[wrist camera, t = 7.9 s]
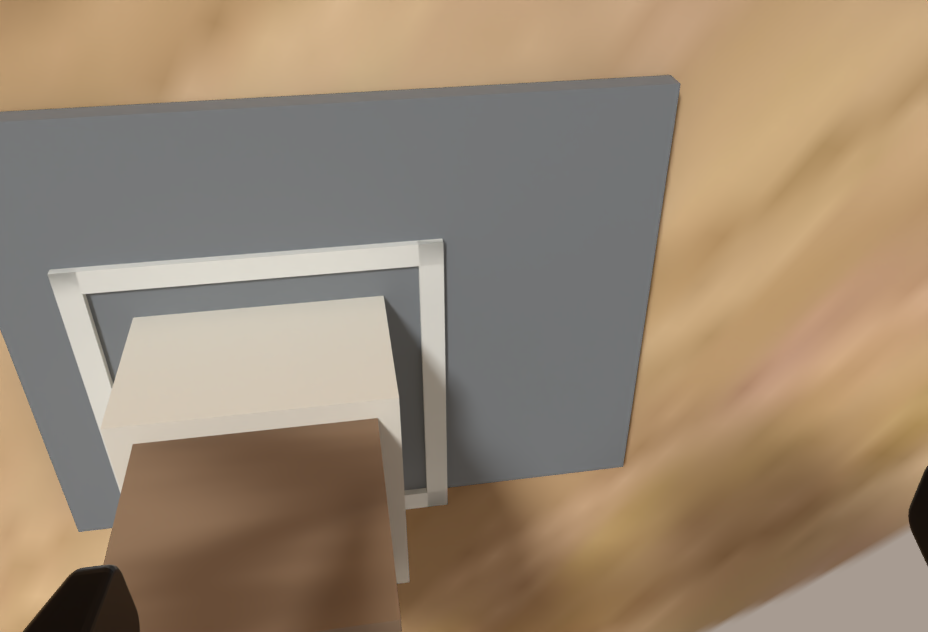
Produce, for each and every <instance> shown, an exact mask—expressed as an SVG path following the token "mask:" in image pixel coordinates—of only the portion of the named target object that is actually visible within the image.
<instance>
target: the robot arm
mask: <svg viewBox="0 0 928 632" xmlns="http://www.w3.org/2000/svg"><path fill="white" fill-rule="evenodd" d="M908 517H909V524H910V528H911V531H912V533H913V535H914V537H915V540H916V542H917V544H918V546H919V548H920V550H921V553H922V555H923V557H924V559H925V561H926V563H927V565H928V466H927V467H926V469H925V471H924V473H923V476H922V478H921V481H920V483H919V485H918V488H917V490H916V493H915V495H914V498H913V500H912V502H911V505H910V508H909V514H908ZM23 632H140V623H139V616H138V612H137V609H136V606H135V604H134V601H133V599H132V596H131V594H130V591H129V589H128V587H127V584H126V582H125V579H124V577H123V574H122V572H121V571H120V569H119V568H118V567H117V566H115V565H110V564H109V565H101V566H93V567H85V568H80V569H77V570H76V571H74V572H73V573H71V574H70V575H69V576H68V577H67V579H66V580H65V581H64V582H63V583H62V585H61V586H60V587H59V588H58V589H57V591H56V592H55V593H54V594H53V596H52V597H51V598H50V599H49V600H48V602H47V603H46V604H45V605H44V606H43V608H42V609H41V610H40V611H39V612H38V614H37V615H36V616H35V617H34V619H33V620H32V621H31V622H30V623H29V625H28V626H27V627H26V628H25V629H24V631H23Z"/></svg>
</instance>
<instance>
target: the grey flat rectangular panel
mask: <svg viewBox="0 0 928 632" xmlns="http://www.w3.org/2000/svg"><path fill="white" fill-rule="evenodd" d="M679 90H680V83H679V82H678V81H677V80H676V79H675V78H673V77H672V76H671V75H664V76H646V77H628V78H609V79H591V80H573V81H555V82H536V83H518V84H500V85H482V86H463V87H445V88H427V89H409V90H390V91H372V92H354V93H336V94H317V95H299V96H281V97H263V98H244V99H226V100H208V101H189V102H171V103H153V104H135V105H116V106H98V107H80V108H62V109H43V110H25V111H7V112H0V330H1V333H2V335H3V338H4V340H5V343H6V345H7V348H8V351H9V353H10V356H11V358H12V361H13V364H14V366H15V369H16V371H17V374H18V376H19V379H20V382H21V384H22V387H23V389H24V392H25V394H26V397H27V400H28V402H29V405H30V407H31V410H32V412H33V415H34V418H35V420H36V423H37V425H38V428H39V431H40V433H41V436H42V438H43V441H44V443H45V446H46V449H47V451H48V454H49V456H50V459H51V461H52V464H53V467H54V469H55V472H56V474H57V477H58V480H59V482H60V485H61V487H62V490H63V492H64V495H65V498H66V500H67V503H68V505H69V508H70V510H71V513H72V516H73V518H74V521H75V523H76V526H77V529H78V531H79V532H82V531H90V530H99V529H107V528H112V527H113V523H114V519H115V515H116V511H117V507H118V503H119V498H120V494H121V491H120V488H119V485H118V482H117V479H116V476H115V473H114V470H113V467H112V464H111V461H110V457H109V454H108V451H107V448H106V445H105V442H104V439H103V436H102V433H101V430H100V428H101V424H102V421H103V418H104V414H105V411H106V408H107V404H108V401H109V397H110V394H111V391H112V387H113V384H114V381H115V377H116V374H117V370H118V367H119V364H120V360H121V357H122V354H123V350H124V347H125V343H126V340H127V337H128V333H129V330H130V327H131V323H132V320H133V318H135V317H146V316H157V315H169V314H180V313H192V312H203V311H214V310H226V309H237V308H249V307H260V306H271V305H283V304H294V303H306V302H317V301H328V300H340V299H351V298H363V297H374V296H384V302H385V309H386V315H387V322H388V328H389V335H390V341H391V348H392V355H393V361H394V368H395V374H396V381H397V387H398V394H399V405H400V422H401V439H402V457H403V474H404V491H405V509H414V508H423V507H431V506H439V505H447V504H448V495H447V488H449V487H458V486H466V485H474V484H483V483H491V482H499V481H508V480H516V479H524V478H533V477H541V476H549V475H558V474H566V473H574V472H583V471H591V470H599V469H608V468H616V467H623V463H624V457H625V450H626V443H627V437H628V430H629V423H630V417H631V410H632V403H633V397H634V390H635V383H636V377H637V370H638V363H639V357H640V350H641V343H642V337H643V330H644V323H645V317H646V310H647V303H648V297H649V290H650V283H651V277H652V270H653V263H654V257H655V250H656V243H657V237H658V230H659V223H660V217H661V210H662V203H663V197H664V190H665V183H666V177H667V170H668V163H669V157H670V150H671V143H672V137H673V130H674V123H675V117H676V110H677V103H678V97H679Z"/></svg>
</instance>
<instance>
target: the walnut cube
mask: <svg viewBox="0 0 928 632" xmlns="http://www.w3.org/2000/svg"><path fill="white" fill-rule="evenodd" d="M109 564H110V565H115V566H117V567H118V568H119V569H120V571H121V572H122V574H123V577H124V579H125V582H126V584H127V587H128V589H129V591H130V594H131V596H132V599H133V601H134V604H135V606H136V609H137V612H138V616H139V623H140V632H402V628H401V616H400V607H399V598H398V590H397V581H396V572H395V564H394V555H393V546H392V538H391V529H390V520H389V512H388V503H387V494H386V486H385V477H384V469H383V460H382V451H381V443H380V434H379V425H378V418H373V419H364V420H354V421H345V422H336V423H326V424H317V425H307V426H298V427H289V428H279V429H270V430H261V431H251V432H242V433H232V434H223V435H214V436H204V437H195V438H185V439H176V440H167V441H157V442H148V443H139V444H133V445H132V449H131V453H130V457H129V461H128V466H127V470H126V474H125V478H124V482H123V486H122V490H121V494H120V498H119V503H118V507H117V511H116V515H115V519H114V523H113V527H112V531H111V536H110V540H109V544H108V548H107V552H106V556H105V560H104V564H103V565H109Z"/></svg>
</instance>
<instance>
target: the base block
mask: <svg viewBox="0 0 928 632" xmlns="http://www.w3.org/2000/svg"><path fill="white" fill-rule="evenodd" d="M373 418H378V425H379V434H380V443H381V451H382V460H383V469H384V477H385V486H386V494H387V503H388V512H389V520H390V529H391V538H392V546H393V555H394V564H395V572H396V581H397V584H400V583H407V582H410V578H409V561H408V543H407V526H406V509H405V491H404V474H403V457H402V439H401V422H400V405H399V394H398V387H397V381H396V374H395V368H394V361H393V355H392V348H391V341H390V335H389V328H388V322H387V315H386V309H385V302H384V296H374V297H363V298H351V299H340V300H328V301H317V302H306V303H294V304H283V305H271V306H260V307H249V308H237V309H226V310H214V311H203V312H192V313H180V314H169V315H157V316H146V317H135V318H133V320H132V323H131V327H130V330H129V333H128V337H127V340H126V343H125V347H124V350H123V354H122V357H121V360H120V364H119V367H118V370H117V374H116V377H115V381H114V384H113V387H112V391H111V394H110V397H109V401H108V404H107V408H106V411H105V414H104V418H103V421H102V424H101V428H100V430H101V433H102V436H103V439H104V442H105V445H106V448H107V451H108V454H109V457H110V461H111V464H112V467H113V470H114V473H115V476H116V479H117V482H118V485H119V488H120V491H121V490H122V486H123V482H124V478H125V474H126V470H127V466H128V461H129V457H130V453H131V449H132V445H133V444H139V443H148V442H157V441H167V440H176V439H185V438H195V437H204V436H214V435H223V434H232V433H242V432H251V431H261V430H270V429H279V428H289V427H298V426H307V425H317V424H326V423H336V422H345V421H354V420H364V419H373Z"/></svg>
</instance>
